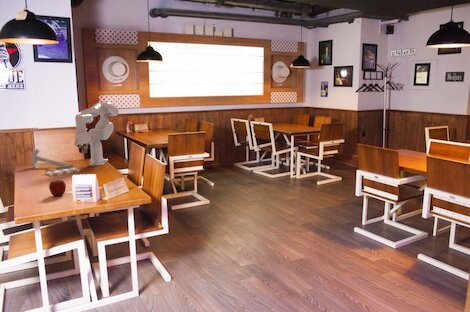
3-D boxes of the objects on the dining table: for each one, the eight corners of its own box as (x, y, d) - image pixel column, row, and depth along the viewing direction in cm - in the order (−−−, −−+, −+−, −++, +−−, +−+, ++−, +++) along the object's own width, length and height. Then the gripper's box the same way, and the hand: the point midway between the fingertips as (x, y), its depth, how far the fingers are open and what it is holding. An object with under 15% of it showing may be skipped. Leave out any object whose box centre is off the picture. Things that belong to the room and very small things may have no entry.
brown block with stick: (84, 152, 324) (83, 144, 323) (90, 153, 317) (89, 146, 316) (79, 152, 321) (78, 145, 320) (85, 153, 314) (84, 146, 313)
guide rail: (73, 167, 321) (72, 164, 321) (73, 167, 320) (73, 165, 320) (45, 171, 306) (45, 169, 305) (46, 171, 305) (45, 169, 305)
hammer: (68, 156, 331) (35, 148, 332) (66, 157, 326) (32, 148, 328) (66, 173, 334) (33, 165, 335) (63, 174, 329) (30, 166, 331)
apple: (64, 192, 249) (62, 177, 248) (68, 195, 242) (67, 180, 240) (48, 195, 243) (46, 180, 242) (52, 198, 236) (51, 182, 234)
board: (73, 169, 322) (72, 167, 321) (79, 171, 314) (79, 169, 313) (45, 173, 306) (45, 171, 306) (51, 176, 298) (51, 173, 298)
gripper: (89, 128, 326) (90, 150, 329) (69, 130, 314) (71, 153, 317) (93, 129, 320) (95, 151, 324) (73, 131, 309) (75, 154, 312)
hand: (83, 151), depth 320 cm, fingers closed on brown block with stick, 4 cm apart
